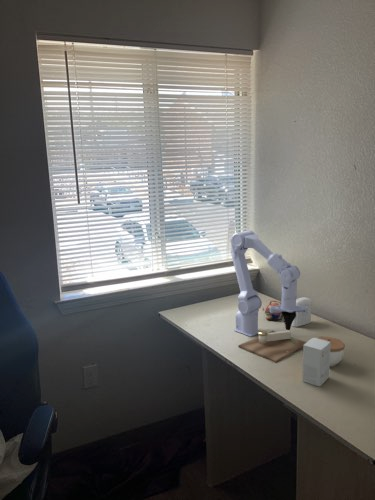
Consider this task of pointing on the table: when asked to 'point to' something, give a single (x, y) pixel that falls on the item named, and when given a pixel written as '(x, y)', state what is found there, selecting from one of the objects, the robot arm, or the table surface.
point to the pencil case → (275, 314)
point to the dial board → (273, 348)
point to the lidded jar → (335, 350)
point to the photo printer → (303, 317)
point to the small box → (316, 361)
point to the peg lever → (273, 336)
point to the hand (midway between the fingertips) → (287, 329)
